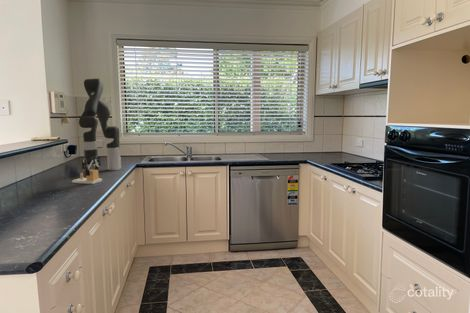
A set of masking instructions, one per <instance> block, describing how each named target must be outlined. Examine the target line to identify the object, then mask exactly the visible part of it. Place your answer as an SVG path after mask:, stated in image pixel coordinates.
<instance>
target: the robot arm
mask: <svg viewBox="0 0 470 313" xmlns="http://www.w3.org/2000/svg"><path fill="white" fill-rule="evenodd" d="M83 85H84V90H85V92H86V94H87V95H88V99H87V100H86V102H85V105H84V111H83V112H82V114H81V115H80V116H79V117H80V118H79V119H78V124H79V127H80V128H82V129H90V130H89V131H85V132H83V133H82V134H83V155H84V157H85V159H82V160H81V168H82V170H84V171H85V172H84V173H85V176H89V175H90V173H89V170H90V168H91V167H92V166H94V170H98V174H99V173H100V170H99V169H100V167H101V165H102V164H101V156H98V144H97V129H98V124H100V127H101V131H102V134H103V136H104V138H105V139H113V140H112V141H110V142H108V143H106V156H107V157H106V158H107V170H108V171H119V170H121V169H122V157H121V150H120V128H119V127H118V126H115V125H114V126H113V125H112V126H111V125H110V126H108V121H109V119H110V115H111V112H110V108H109V106H108V104H107V103H106V102H105V101H104V100H103V99H101V97H102V94H103V91H104V83H103V81H102V79H101V78H87V79H84V81H83ZM96 116H97V117H96Z"/></svg>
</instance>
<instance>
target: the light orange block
mask: <svg viewBox="0 0 470 313" xmlns="http://www.w3.org/2000/svg"><path fill="white" fill-rule="evenodd" d="M89 173H90V175H89V176H86V175H85V176H86V177H85V178H86V179H87V180H89V181H94V180H97V179H99V178H100V176H99V173H98V170H95V169H89Z"/></svg>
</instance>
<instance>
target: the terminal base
mask: <svg viewBox="0 0 470 313" xmlns="http://www.w3.org/2000/svg"><path fill="white" fill-rule="evenodd" d="M79 177H80V178H75V179H73V180H71V183H72V184H87V185H89V184H90V185H93V184H97V183H100V182H102V181H103V178H100V177H99V179H97V180H94V181H89V180H87V179H86V177H84V173H83V172H80V173H79Z"/></svg>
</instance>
